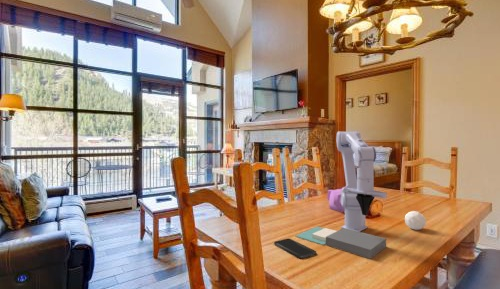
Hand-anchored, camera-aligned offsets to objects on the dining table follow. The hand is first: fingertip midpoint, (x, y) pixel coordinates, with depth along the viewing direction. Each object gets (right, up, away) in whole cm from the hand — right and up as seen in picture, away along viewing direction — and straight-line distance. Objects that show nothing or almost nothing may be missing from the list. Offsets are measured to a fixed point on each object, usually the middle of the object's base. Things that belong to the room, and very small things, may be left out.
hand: (365, 214), depth 98 cm
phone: (-28, -11, -6) cm, 30 cm away
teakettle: (+10, -10, +47) cm, 49 cm away
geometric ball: (+28, -10, +14) cm, 33 cm away
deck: (-5, -11, -3) cm, 12 cm away
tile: (-13, -10, +5) cm, 17 cm away
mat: (-15, -10, +7) cm, 20 cm away
